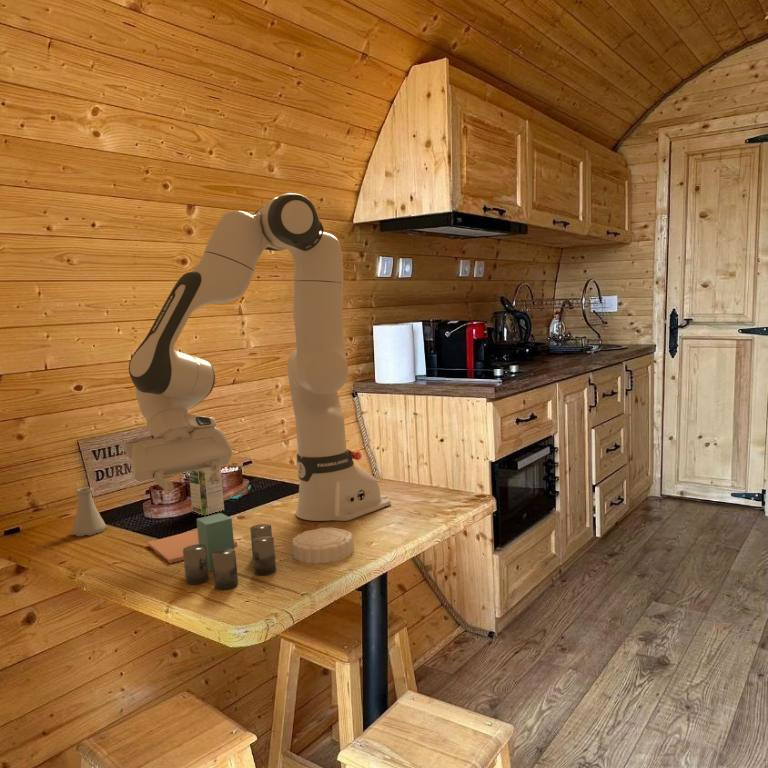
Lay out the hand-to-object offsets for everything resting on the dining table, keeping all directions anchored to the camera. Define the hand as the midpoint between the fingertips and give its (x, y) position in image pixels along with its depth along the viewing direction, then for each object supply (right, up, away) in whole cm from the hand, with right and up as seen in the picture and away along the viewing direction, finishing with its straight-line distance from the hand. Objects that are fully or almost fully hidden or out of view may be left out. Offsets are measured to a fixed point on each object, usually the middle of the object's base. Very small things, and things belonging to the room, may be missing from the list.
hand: (193, 487), depth 140 cm
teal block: (+6, -14, -6) cm, 16 cm away
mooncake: (+26, -13, -3) cm, 29 cm away
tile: (-2, -13, +6) cm, 14 cm away
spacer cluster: (+11, -14, -11) cm, 21 cm away
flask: (-29, -13, +20) cm, 37 cm away
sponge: (-1, -9, +44) cm, 45 cm away
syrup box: (-4, -10, +30) cm, 32 cm away
